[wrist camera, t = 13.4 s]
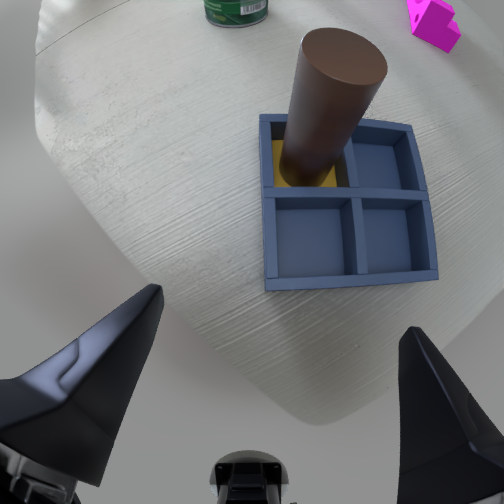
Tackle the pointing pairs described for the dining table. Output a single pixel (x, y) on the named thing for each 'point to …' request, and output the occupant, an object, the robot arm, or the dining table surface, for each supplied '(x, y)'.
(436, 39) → the toy block
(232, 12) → the canned tomato
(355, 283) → the grid
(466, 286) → the dining table surface
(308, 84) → the brown wooden dowel
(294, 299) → the dining table surface
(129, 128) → the dining table surface
